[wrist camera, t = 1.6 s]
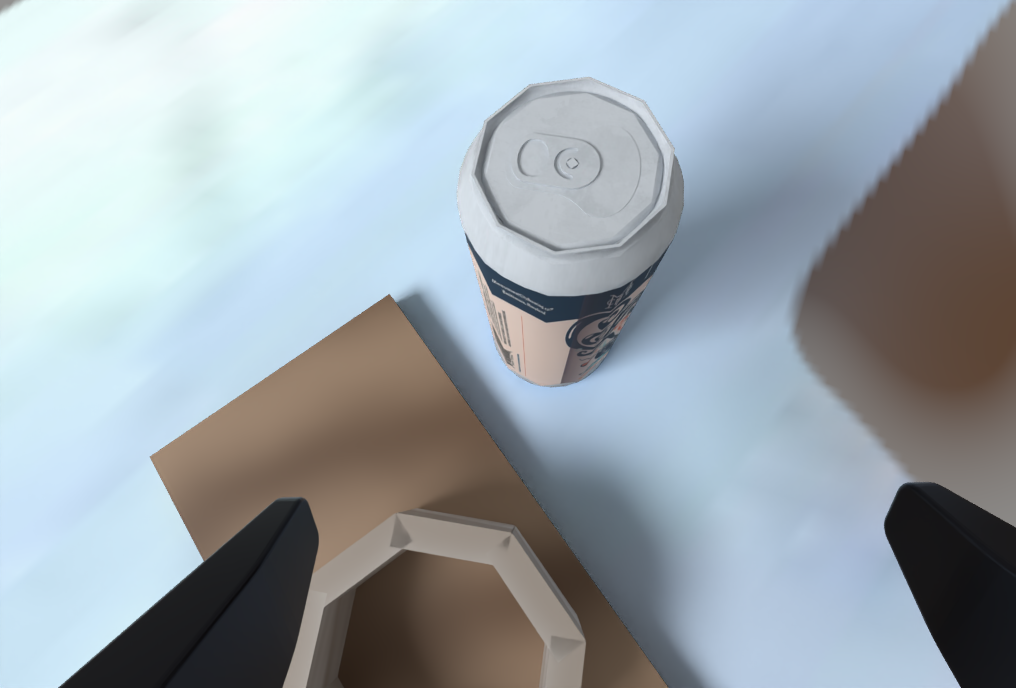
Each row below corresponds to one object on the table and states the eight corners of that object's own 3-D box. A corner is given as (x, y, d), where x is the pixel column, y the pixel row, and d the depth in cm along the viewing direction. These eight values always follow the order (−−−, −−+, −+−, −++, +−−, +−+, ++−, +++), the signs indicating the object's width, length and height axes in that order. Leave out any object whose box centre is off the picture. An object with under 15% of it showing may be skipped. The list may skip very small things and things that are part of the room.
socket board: (798, 871, 17) (877, 987, 13) (521, 1127, 16) (517, 1338, 12) (395, 302, 22) (366, 264, 19) (167, 457, 21) (85, 452, 17)
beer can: (599, 400, 21) (681, 298, 9) (482, 377, 21) (423, 253, 10) (618, 288, 22) (711, 75, 11) (506, 269, 23) (478, 44, 11)
